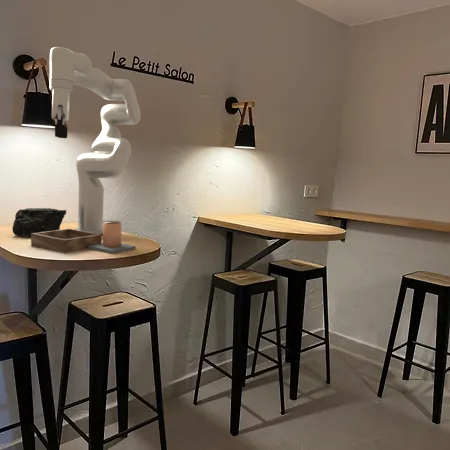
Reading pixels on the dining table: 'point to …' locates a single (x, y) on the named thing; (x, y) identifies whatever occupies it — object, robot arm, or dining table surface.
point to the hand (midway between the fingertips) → (61, 137)
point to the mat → (111, 250)
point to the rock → (37, 220)
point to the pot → (111, 234)
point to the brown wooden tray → (65, 240)
